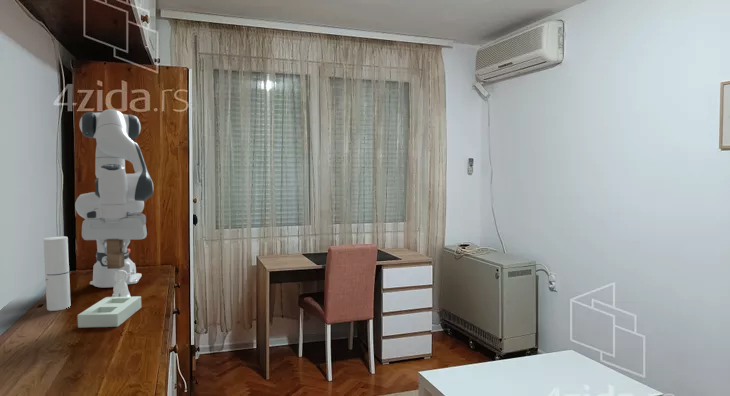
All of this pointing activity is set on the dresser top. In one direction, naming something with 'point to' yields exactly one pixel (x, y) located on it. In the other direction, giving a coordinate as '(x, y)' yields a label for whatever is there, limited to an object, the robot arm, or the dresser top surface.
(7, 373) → the dresser top surface
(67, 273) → the cylindrical container
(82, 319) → the socket board
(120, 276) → the sitting furry creature
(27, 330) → the dresser top surface
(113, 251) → the wood grain block
